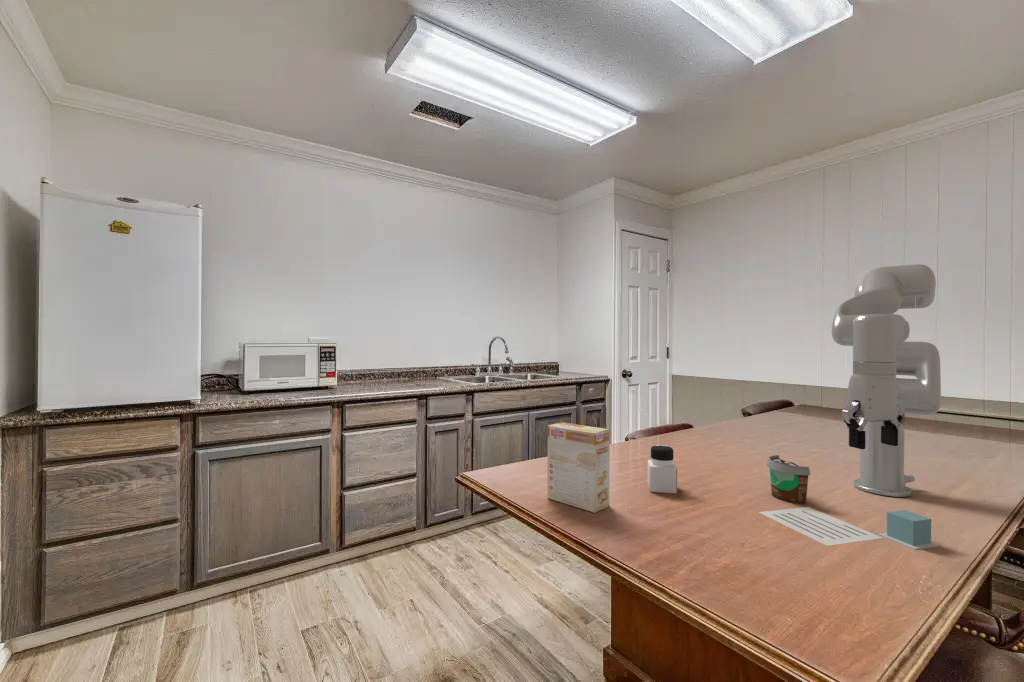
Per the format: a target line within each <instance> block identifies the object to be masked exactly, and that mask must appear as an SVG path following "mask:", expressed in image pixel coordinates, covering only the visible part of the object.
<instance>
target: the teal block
mask: <svg viewBox="0 0 1024 682" xmlns="http://www.w3.org/2000/svg"><path fill="white" fill-rule="evenodd" d="M886 514H887V515H886V533H887V536H890V537H892V538H895V539H897V540H900V541H902V542H905V543H907V544H910V545H912V546H916V545H923V544H929V543H931V542H932V518H930V517H928V516H927V517H926V516H923V515H920V514H917V513H914V512H912V511H909V510H905V509H901V510H900V509H899V510H893V511H887V512H886Z"/></svg>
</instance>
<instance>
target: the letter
mask: <svg viewBox="0 0 1024 682" xmlns="http://www.w3.org/2000/svg"><path fill="white" fill-rule="evenodd" d="M758 513H759V514H761V515H763V516H765V517H767V518H769V519H771V520H774V521H775V522H777V523H780V524H782V525H783V526H786V527H788V529H789V528H790V529H791V530H794V531H796V532H798V533H799V534H802V535H804V536H806V537H809V538H810V539H812V540H814V541H816V542H818V543H820V544H822V545H824V546H826V547H827V546H835V545H843V544H849V543H850V544H851V543H860V542H864V541H873V540H874V541H875V540H880V539H883V537H882V536H879V535H878V534H874V533H872V532H870V531H868V530H865V529H863V528H861V527H858V526H855V525H853V524H851V523H849V522H846V521H843V520H842V519H839V518H836V517H834V516H831V515H829V514H827V513H825V512H822V511H819V510H818V509H815V508H812V507H810V506H805V507H804V506H803V507H795V508H786V509H785V508H784V509H776V510H768V511H767V510H766V511H765V510H764V511H758Z"/></svg>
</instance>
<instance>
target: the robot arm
mask: <svg viewBox="0 0 1024 682" xmlns="http://www.w3.org/2000/svg"><path fill="white" fill-rule="evenodd" d="M936 281H937V280H936V275H935V272H934V271H933V269H932V268H931V267H929V266H928V265H925V264H922V263H920V264H919V263H917V264H906V265H904V264H902V265H893V266H891V265H890V266H883V267H882V266H881V267H876V268H874V269H872V270H870V271H868V272H867V273H866V274H865V275H864V278H863V280H862V283H861V284H859V285H857V287H856V288H855V290H854V291H855V292H854V296H853V297H851V298H850V299H848V300H845V301H843V303H841V304H840V305H839V306H837V309H836V310H835V313H834V317H833V320H832V324H831V337H832V339H833V341H834V342H835V344H838V345H840V346H845V347H847V346H848V347H852V375H850V378H849V380H848V381H849V382H848V386H847V395H846V405H845V406H846V407H845V408H843V409H842V410H841V414H842V418H843V420H844V421H843V422H844V424H845V425H846V428H847V430H848V446H849V447H850V448H853V449H854V448H855V449H858V450H860V451H859V456H860V457H859V461H860V462H859V464H860V465H859V466H860V467H859V472H860V473H859V478H856V479H854V480H852V481H853V482H852V484H853V486H854V487H855V488H857V489H859V490H861V491H863V492H867V493H870V494H875V495H878V496H885V497H897V498H903V497H910V496H911V495H912V490H911V489H910V487H908V486H906V484H907V483H914V482H915V480H916V479H915V477H914V476H913V475H912V474H908V475H907V474H905V428H904V426H903V424H902V423H901V422H902V420H903V415H904V414H909V415H910V414H911V415H924V416H931V415H935V414H937V413H938V412H939V411H940V408H941V404H942V403H941V402H942V384H941V380H942V379H941V376H942V375H941V358H940V357H941V355H940V352H939V350H938V348H937V346H936V345H935V344H933V343H931V342H927V341H906V340H907V339H908V338H909V336H910V333H911V332H910V330H911V329H910V323H909V322H908V320H906V319H905V317H903V316H902V315H900V314H895V313H896V312H898V311H899V310H902V309H903V310H905V309H906V310H907V309H910V310H911V309H924V308H928V307H930V306H931V305H932V304H933V303H934V300H935V297H936V284H937V283H936ZM897 376H911V377H915V378H901V377H897ZM858 422H859V423H858Z"/></svg>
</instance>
